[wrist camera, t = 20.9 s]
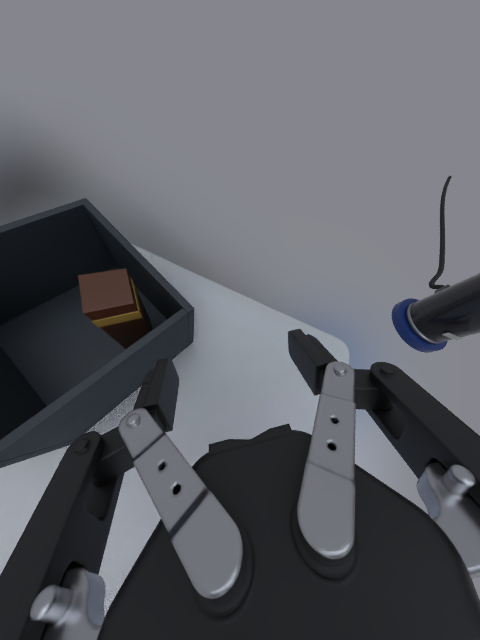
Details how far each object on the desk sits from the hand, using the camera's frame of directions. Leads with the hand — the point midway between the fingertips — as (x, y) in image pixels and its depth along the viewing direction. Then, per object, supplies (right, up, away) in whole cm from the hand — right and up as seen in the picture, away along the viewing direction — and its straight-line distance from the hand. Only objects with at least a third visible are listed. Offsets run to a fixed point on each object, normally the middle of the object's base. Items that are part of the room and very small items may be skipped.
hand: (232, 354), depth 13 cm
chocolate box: (-14, +1, +15) cm, 21 cm away
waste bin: (-20, 0, +15) cm, 25 cm away
